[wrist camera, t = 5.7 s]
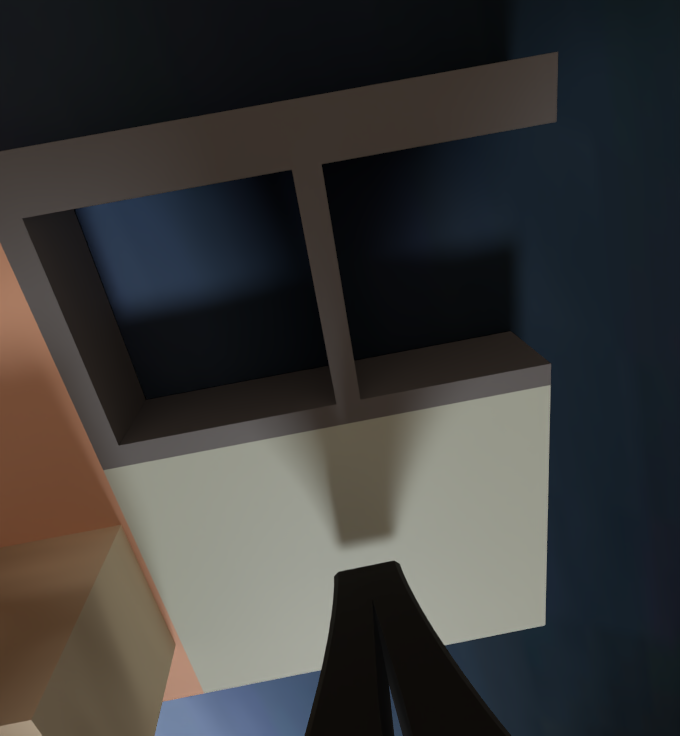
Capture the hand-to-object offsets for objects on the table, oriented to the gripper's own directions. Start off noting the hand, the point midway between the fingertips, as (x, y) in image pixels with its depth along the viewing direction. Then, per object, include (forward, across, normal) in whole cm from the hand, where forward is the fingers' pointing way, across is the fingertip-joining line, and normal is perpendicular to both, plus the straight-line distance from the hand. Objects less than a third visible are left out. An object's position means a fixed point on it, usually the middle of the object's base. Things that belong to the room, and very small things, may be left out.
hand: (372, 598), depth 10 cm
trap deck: (+3, +3, -3) cm, 5 cm away
